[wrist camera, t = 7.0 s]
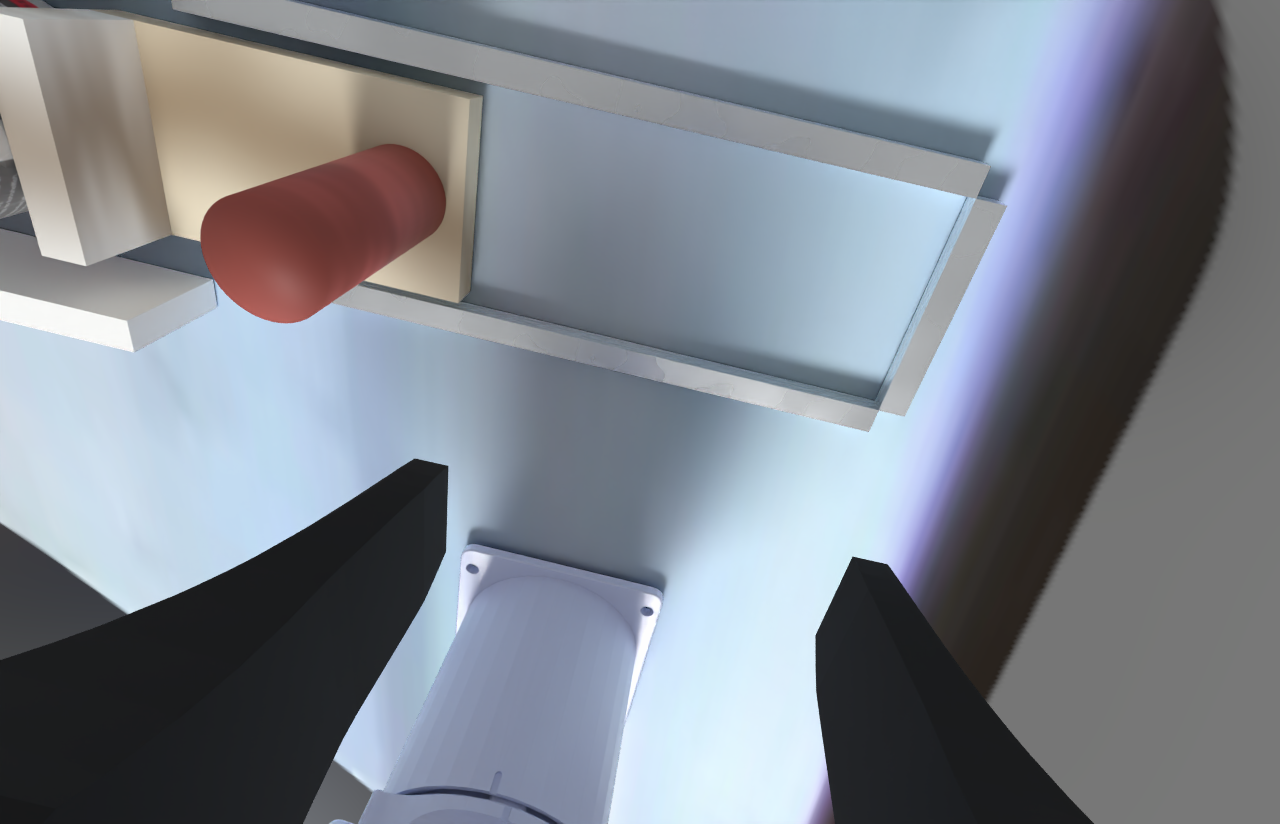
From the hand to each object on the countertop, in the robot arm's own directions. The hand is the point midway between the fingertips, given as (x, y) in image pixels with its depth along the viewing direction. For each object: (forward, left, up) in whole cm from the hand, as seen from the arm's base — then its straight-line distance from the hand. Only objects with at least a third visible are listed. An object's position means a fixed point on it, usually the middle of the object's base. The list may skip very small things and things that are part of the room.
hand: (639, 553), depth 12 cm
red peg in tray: (+2, +12, -10) cm, 15 cm away
